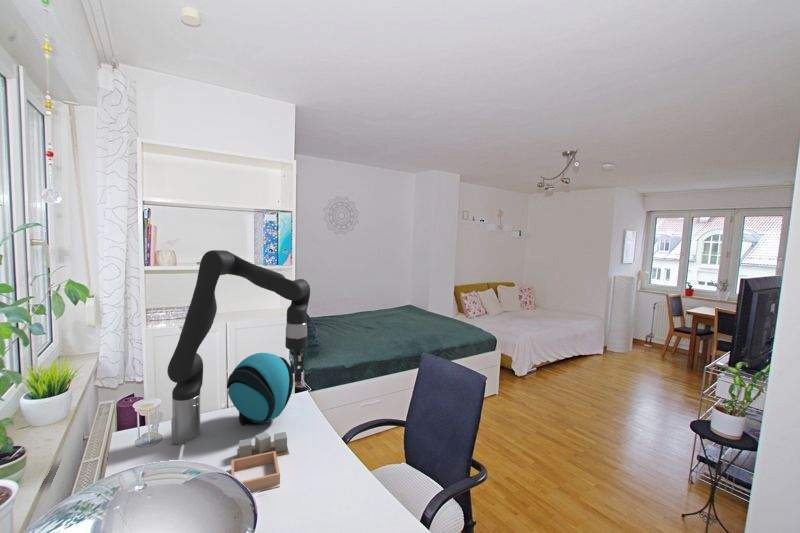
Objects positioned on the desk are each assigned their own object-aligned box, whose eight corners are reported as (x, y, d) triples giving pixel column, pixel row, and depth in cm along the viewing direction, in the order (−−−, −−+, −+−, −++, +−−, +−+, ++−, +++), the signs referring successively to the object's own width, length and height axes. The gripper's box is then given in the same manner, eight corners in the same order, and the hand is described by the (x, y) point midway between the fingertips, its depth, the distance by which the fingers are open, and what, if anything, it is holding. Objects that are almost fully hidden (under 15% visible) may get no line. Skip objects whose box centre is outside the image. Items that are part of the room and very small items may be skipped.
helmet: (303, 420, 154) (305, 353, 152) (257, 446, 134) (258, 370, 131) (263, 403, 168) (264, 341, 165) (216, 425, 147) (216, 354, 144)
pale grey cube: (259, 453, 128) (260, 440, 128) (255, 448, 131) (255, 435, 130) (270, 449, 131) (270, 436, 131) (265, 444, 134) (265, 431, 133)
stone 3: (275, 452, 129) (275, 439, 129) (274, 446, 133) (274, 433, 132) (286, 450, 131) (287, 437, 130) (285, 444, 134) (285, 431, 134)
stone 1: (239, 460, 124) (239, 446, 123) (239, 453, 128) (239, 440, 127) (251, 457, 126) (251, 444, 125) (251, 451, 129) (251, 438, 129)
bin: (231, 499, 108) (231, 485, 107) (231, 472, 119) (231, 460, 119) (279, 487, 114) (280, 474, 113) (275, 462, 125) (275, 450, 125)
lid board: (237, 468, 122) (237, 465, 121) (237, 451, 131) (237, 448, 130) (289, 457, 129) (289, 454, 129) (285, 442, 138) (285, 439, 138)
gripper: (282, 330, 134) (282, 371, 135) (289, 341, 121) (288, 386, 122) (302, 328, 137) (302, 369, 138) (311, 339, 124) (310, 383, 126)
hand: (295, 377), depth 130 cm, fingers open, 8 cm apart
